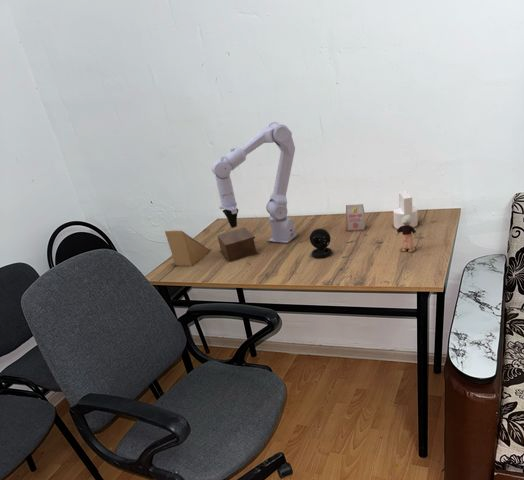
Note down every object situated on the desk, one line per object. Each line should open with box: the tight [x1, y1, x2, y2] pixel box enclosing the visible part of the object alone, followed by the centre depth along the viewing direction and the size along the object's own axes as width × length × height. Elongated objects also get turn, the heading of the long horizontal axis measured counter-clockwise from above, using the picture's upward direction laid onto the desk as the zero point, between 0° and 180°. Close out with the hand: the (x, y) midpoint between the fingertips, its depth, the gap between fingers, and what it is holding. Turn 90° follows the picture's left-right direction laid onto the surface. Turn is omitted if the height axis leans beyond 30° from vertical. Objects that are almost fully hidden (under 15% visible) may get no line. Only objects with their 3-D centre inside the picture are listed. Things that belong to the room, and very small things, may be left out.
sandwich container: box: [164, 229, 211, 267], centre depth 194 cm, size 9×15×15 cm, turn 154°
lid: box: [216, 226, 256, 247], centre depth 191 cm, size 12×14×1 cm
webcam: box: [309, 228, 333, 259], centre depth 175 cm, size 8×8×10 cm
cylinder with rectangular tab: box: [393, 190, 419, 230], centre depth 183 cm, size 9×9×12 cm
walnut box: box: [217, 237, 257, 263], centre depth 192 cm, size 12×14×6 cm
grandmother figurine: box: [395, 215, 418, 253], centre depth 164 cm, size 8×4×13 cm, turn 65°
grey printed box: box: [345, 203, 366, 232], centre depth 189 cm, size 4×7×10 cm, turn 70°
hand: (233, 226), depth 190 cm, fingers closed
